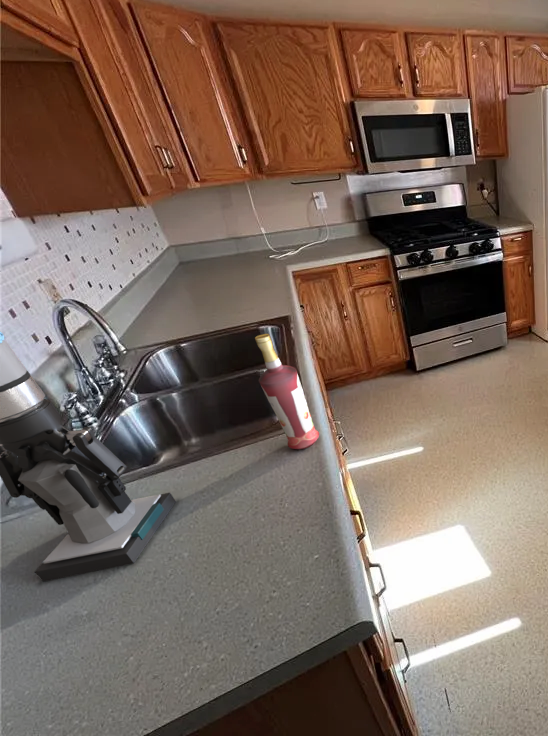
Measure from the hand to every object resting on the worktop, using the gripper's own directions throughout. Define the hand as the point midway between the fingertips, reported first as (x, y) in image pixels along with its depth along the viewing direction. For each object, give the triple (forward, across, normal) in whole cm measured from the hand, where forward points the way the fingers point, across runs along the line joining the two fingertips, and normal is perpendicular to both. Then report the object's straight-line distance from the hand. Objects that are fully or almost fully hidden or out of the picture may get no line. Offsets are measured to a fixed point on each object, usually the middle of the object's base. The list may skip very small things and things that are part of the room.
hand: (96, 512), depth 74 cm
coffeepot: (+3, 0, 0) cm, 4 cm away
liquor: (+7, -29, -19) cm, 36 cm away
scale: (+7, 0, 0) cm, 7 cm away
